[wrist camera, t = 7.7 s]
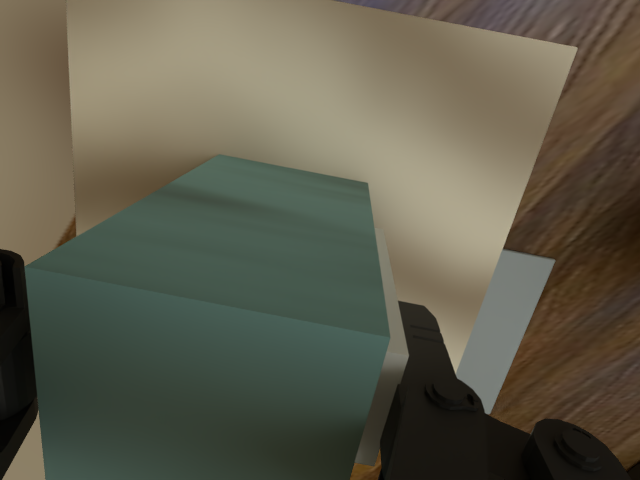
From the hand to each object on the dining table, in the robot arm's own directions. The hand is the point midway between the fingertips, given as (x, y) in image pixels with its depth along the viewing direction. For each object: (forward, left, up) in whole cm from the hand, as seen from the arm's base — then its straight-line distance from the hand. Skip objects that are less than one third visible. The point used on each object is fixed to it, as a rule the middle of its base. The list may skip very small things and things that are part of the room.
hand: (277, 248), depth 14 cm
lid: (0, 0, -2) cm, 2 cm away
